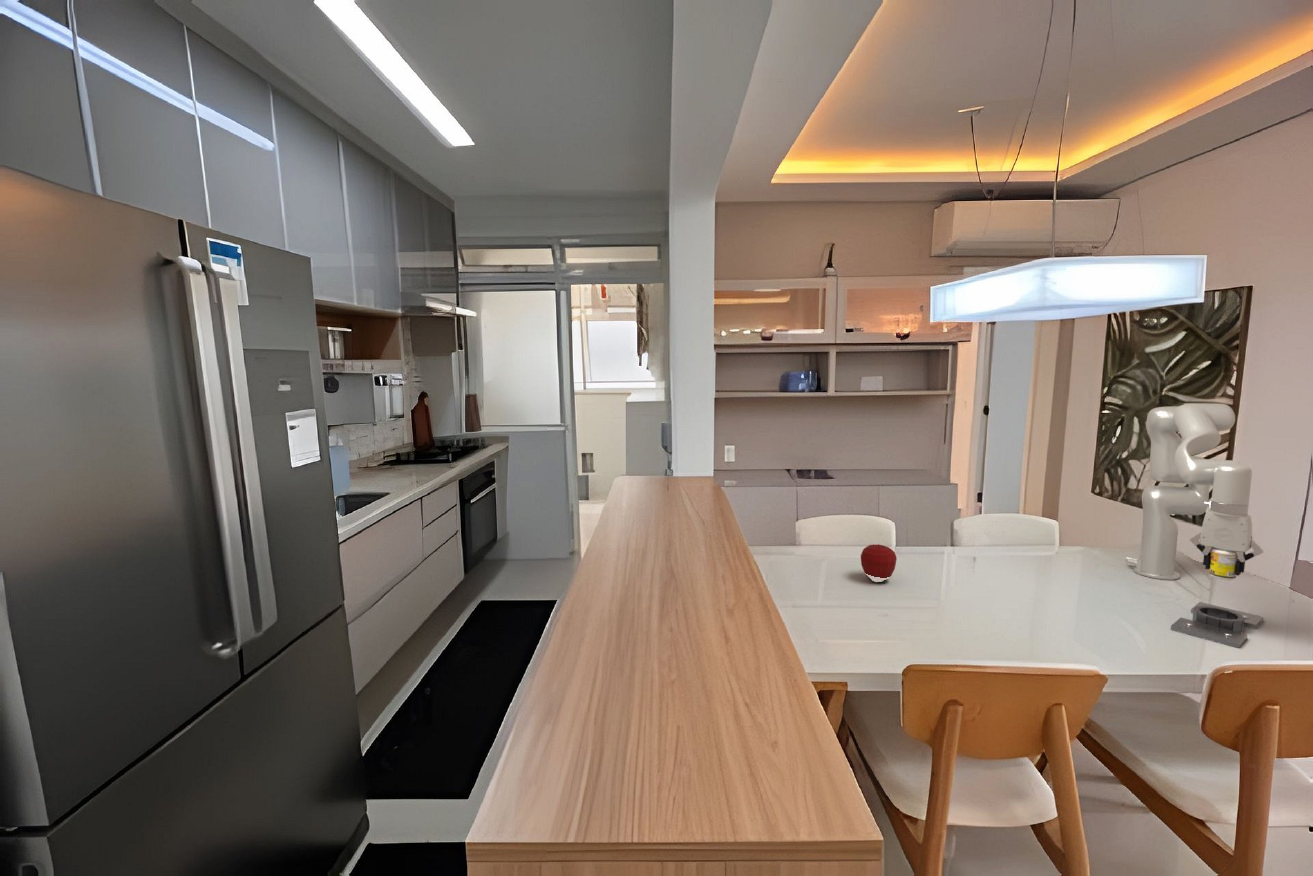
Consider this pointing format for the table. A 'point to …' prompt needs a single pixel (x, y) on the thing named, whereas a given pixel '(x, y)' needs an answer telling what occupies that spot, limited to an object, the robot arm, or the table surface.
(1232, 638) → the ring mounting bracket
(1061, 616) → the table surface
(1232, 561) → the supplement bottle
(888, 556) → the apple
